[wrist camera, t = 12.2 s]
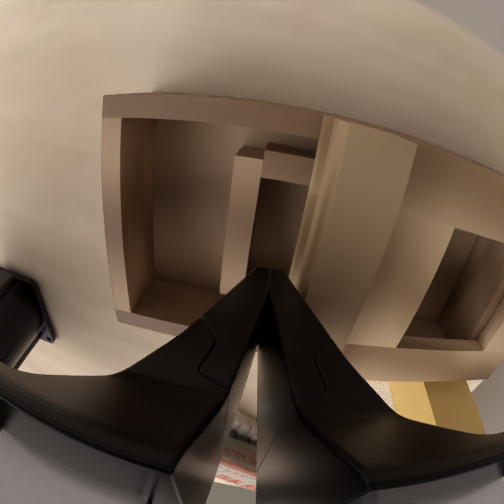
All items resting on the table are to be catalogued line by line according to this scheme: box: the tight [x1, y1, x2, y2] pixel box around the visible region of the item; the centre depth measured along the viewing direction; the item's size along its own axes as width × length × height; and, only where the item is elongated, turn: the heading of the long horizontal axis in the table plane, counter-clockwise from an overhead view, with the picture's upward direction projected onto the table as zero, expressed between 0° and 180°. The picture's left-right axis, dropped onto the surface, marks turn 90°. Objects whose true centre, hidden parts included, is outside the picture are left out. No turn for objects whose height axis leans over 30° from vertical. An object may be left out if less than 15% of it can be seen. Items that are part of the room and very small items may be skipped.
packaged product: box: [215, 410, 257, 491], centre depth 24 cm, size 18×5×10 cm
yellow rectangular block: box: [388, 380, 485, 434], centre depth 14 cm, size 4×4×9 cm
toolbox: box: [102, 93, 504, 352], centre depth 12 cm, size 10×18×4 cm, turn 82°
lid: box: [289, 115, 504, 382], centre depth 9 cm, size 10×13×3 cm
